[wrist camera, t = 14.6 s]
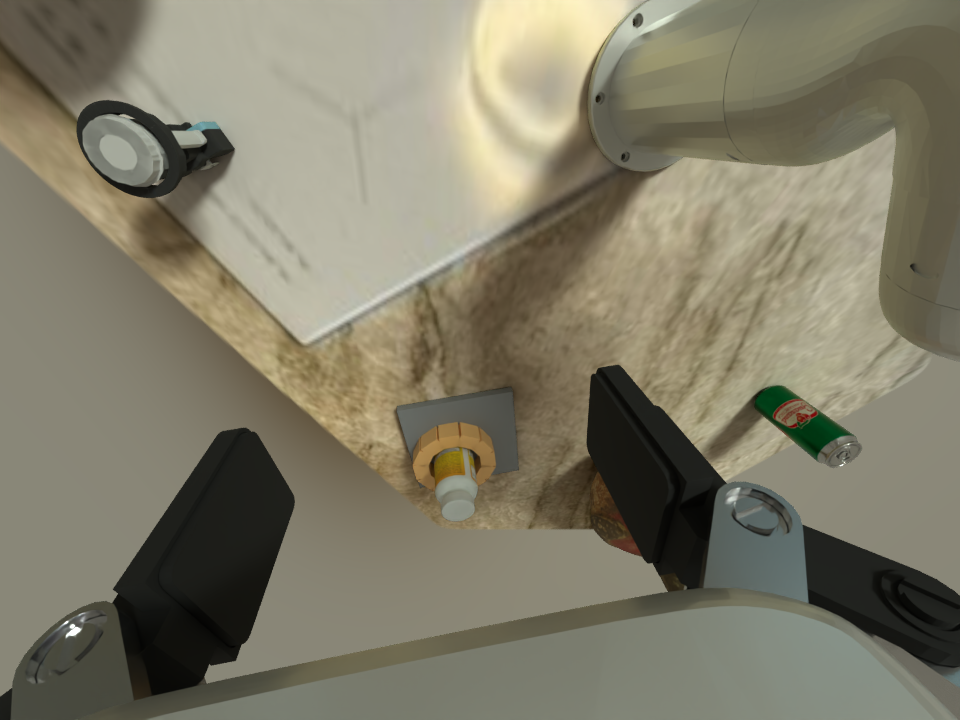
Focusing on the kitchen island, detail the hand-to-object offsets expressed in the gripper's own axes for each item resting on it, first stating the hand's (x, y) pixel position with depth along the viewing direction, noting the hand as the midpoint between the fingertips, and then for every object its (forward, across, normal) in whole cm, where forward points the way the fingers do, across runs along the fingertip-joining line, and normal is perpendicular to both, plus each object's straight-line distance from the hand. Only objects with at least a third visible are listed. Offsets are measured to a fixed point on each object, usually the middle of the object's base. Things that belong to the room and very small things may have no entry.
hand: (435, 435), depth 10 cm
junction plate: (+30, 0, +30) cm, 42 cm away
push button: (+31, +18, -8) cm, 36 cm away
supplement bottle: (+30, +2, +31) cm, 43 cm away
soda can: (+31, -46, +32) cm, 64 cm away
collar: (+30, +2, +31) cm, 43 cm away
